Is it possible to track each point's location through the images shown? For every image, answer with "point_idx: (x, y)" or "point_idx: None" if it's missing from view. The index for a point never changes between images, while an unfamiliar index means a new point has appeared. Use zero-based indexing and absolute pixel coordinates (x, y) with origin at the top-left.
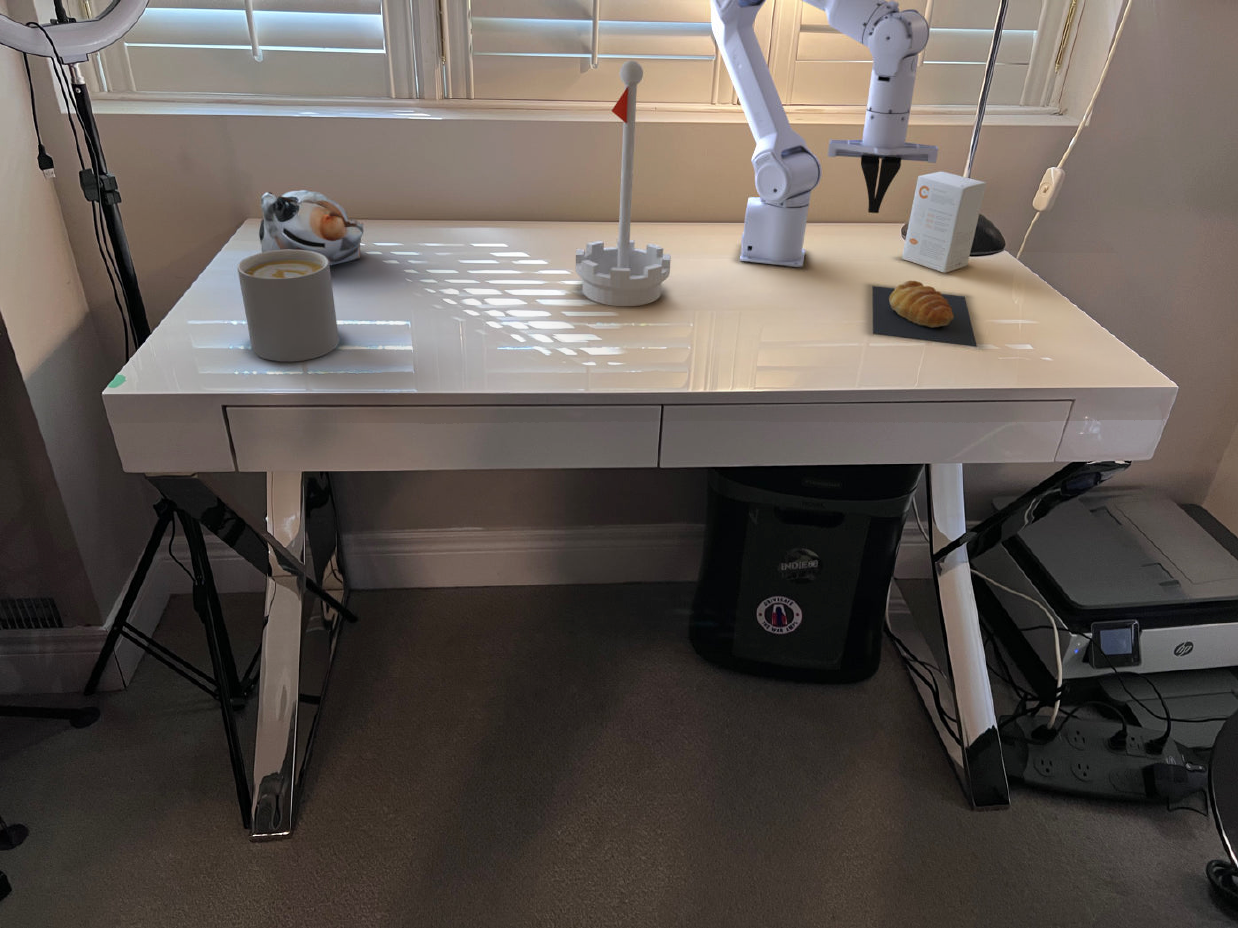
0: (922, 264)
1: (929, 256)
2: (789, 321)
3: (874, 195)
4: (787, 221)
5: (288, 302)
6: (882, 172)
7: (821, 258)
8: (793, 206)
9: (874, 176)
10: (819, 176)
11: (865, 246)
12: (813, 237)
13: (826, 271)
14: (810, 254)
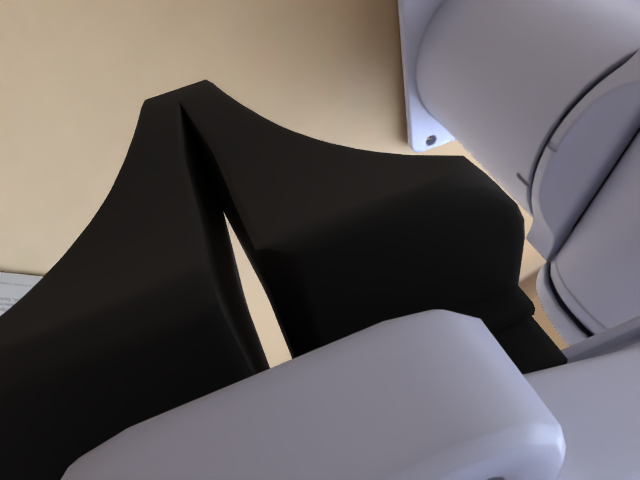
0: (29, 276)
1: (1, 298)
2: None
3: (205, 131)
4: (580, 30)
5: None
6: (188, 248)
7: (349, 134)
8: (613, 73)
9: (274, 197)
10: (566, 317)
11: (256, 303)
12: None
13: (304, 14)
14: (388, 146)
